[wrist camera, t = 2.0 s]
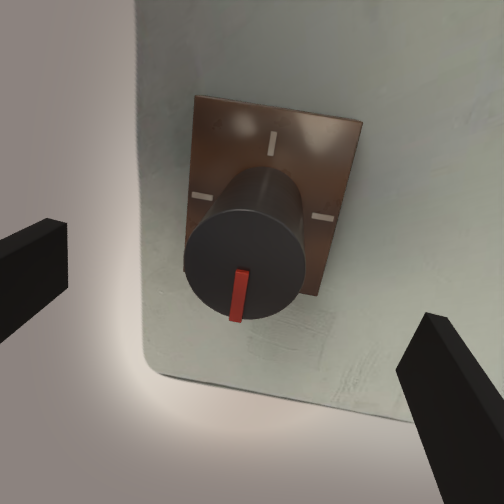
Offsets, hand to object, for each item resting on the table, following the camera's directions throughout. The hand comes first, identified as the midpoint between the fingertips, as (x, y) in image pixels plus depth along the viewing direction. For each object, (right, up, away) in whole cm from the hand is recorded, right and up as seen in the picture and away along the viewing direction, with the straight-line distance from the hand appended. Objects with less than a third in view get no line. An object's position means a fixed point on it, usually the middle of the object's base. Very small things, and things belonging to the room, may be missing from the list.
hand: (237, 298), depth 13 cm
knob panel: (+1, +6, +12) cm, 13 cm away
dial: (+1, +5, +10) cm, 11 cm away
